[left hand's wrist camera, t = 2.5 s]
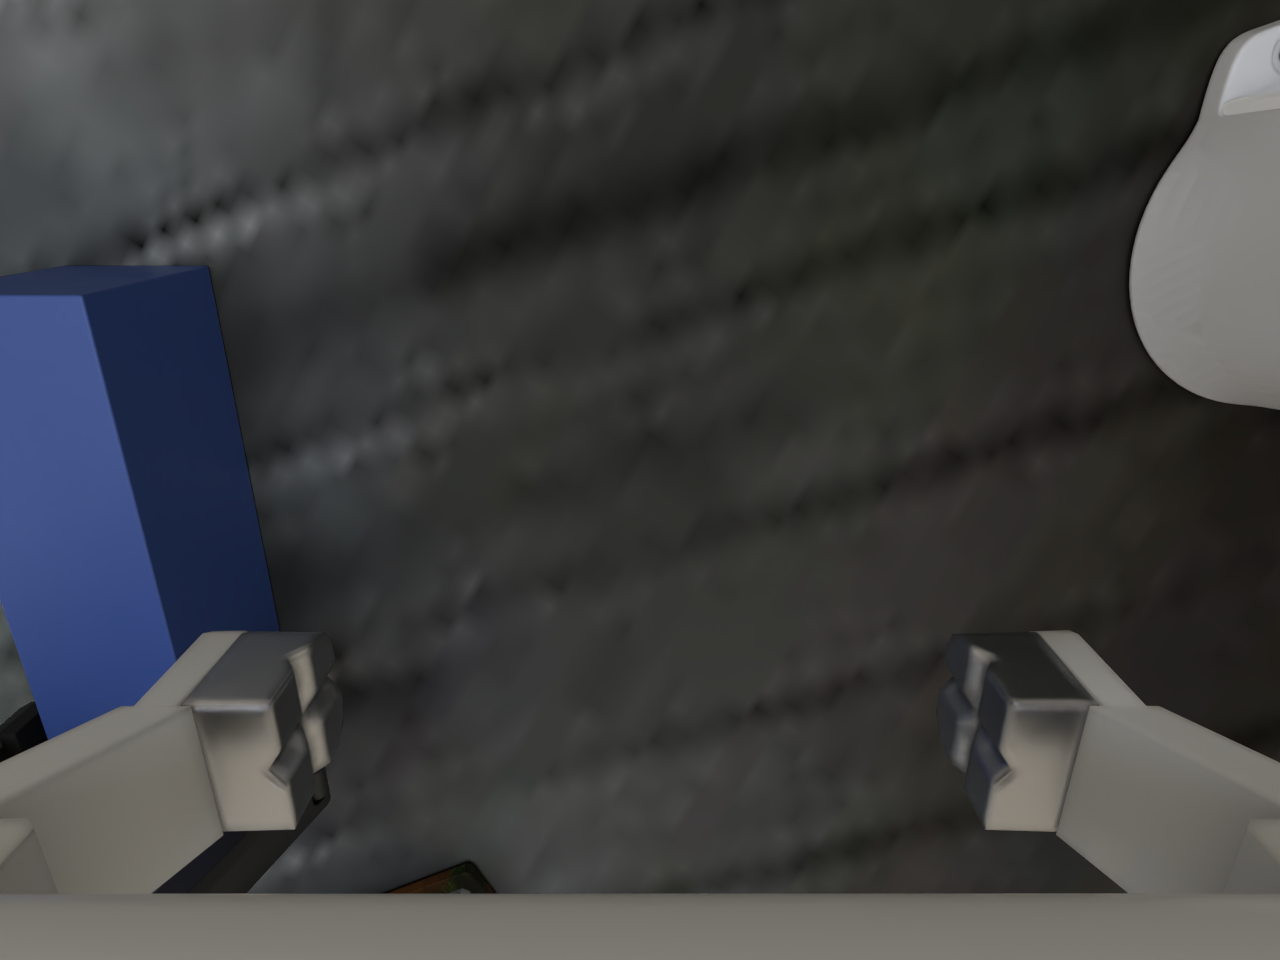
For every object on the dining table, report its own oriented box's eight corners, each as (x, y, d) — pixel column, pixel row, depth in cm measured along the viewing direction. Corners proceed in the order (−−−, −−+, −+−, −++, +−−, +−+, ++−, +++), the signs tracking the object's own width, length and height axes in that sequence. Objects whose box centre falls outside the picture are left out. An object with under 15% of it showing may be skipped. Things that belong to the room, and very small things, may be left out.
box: (64, 265, 35) (-107, 294, 27) (209, 265, 35) (82, 294, 27) (183, 722, 44) (83, 845, 36) (298, 723, 44) (223, 845, 36)
